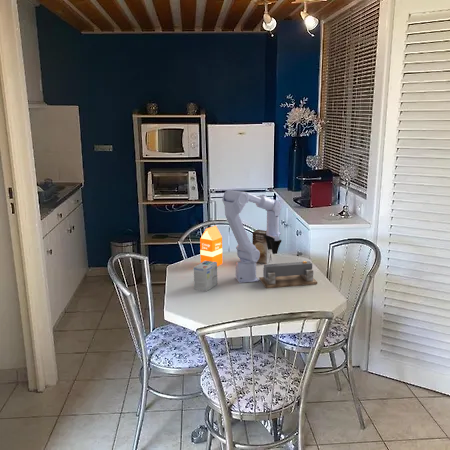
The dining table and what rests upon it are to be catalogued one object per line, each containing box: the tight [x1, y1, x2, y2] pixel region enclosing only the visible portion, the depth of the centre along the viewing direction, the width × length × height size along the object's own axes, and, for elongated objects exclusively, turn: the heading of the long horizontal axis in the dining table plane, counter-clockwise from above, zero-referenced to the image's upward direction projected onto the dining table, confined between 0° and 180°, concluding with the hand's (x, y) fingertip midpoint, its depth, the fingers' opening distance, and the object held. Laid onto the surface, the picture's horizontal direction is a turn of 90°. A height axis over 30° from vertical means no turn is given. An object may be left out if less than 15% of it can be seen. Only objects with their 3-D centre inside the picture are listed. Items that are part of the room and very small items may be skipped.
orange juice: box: [199, 225, 223, 267], centre depth 243 cm, size 8×9×20 cm
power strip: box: [263, 260, 313, 278], centre depth 218 cm, size 22×4×6 cm, turn 101°
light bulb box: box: [193, 261, 218, 292], centre depth 212 cm, size 11×7×11 cm, turn 154°
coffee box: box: [251, 229, 273, 265], centre depth 248 cm, size 9×6×16 cm
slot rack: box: [258, 267, 318, 289], centre depth 218 cm, size 24×12×6 cm, turn 101°
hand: (272, 251), depth 230 cm, fingers open, 7 cm apart
